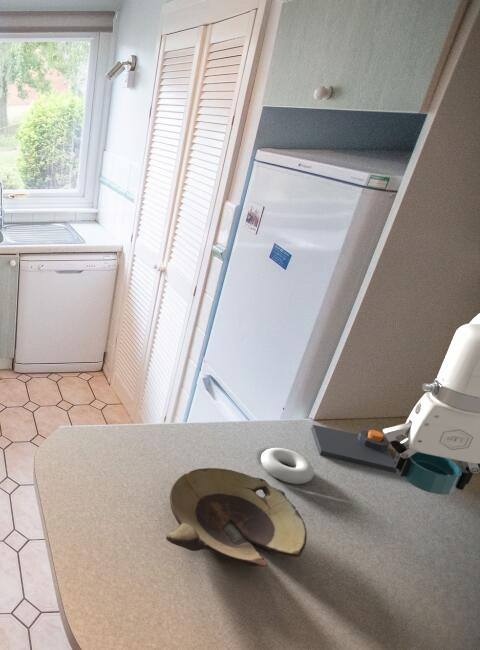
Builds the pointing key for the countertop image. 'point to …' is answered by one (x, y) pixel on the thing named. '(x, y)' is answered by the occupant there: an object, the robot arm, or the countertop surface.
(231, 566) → the countertop surface
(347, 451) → the scale
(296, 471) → the donut
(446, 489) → the small bowl
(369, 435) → the tare button
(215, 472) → the broken ceramic bowl
